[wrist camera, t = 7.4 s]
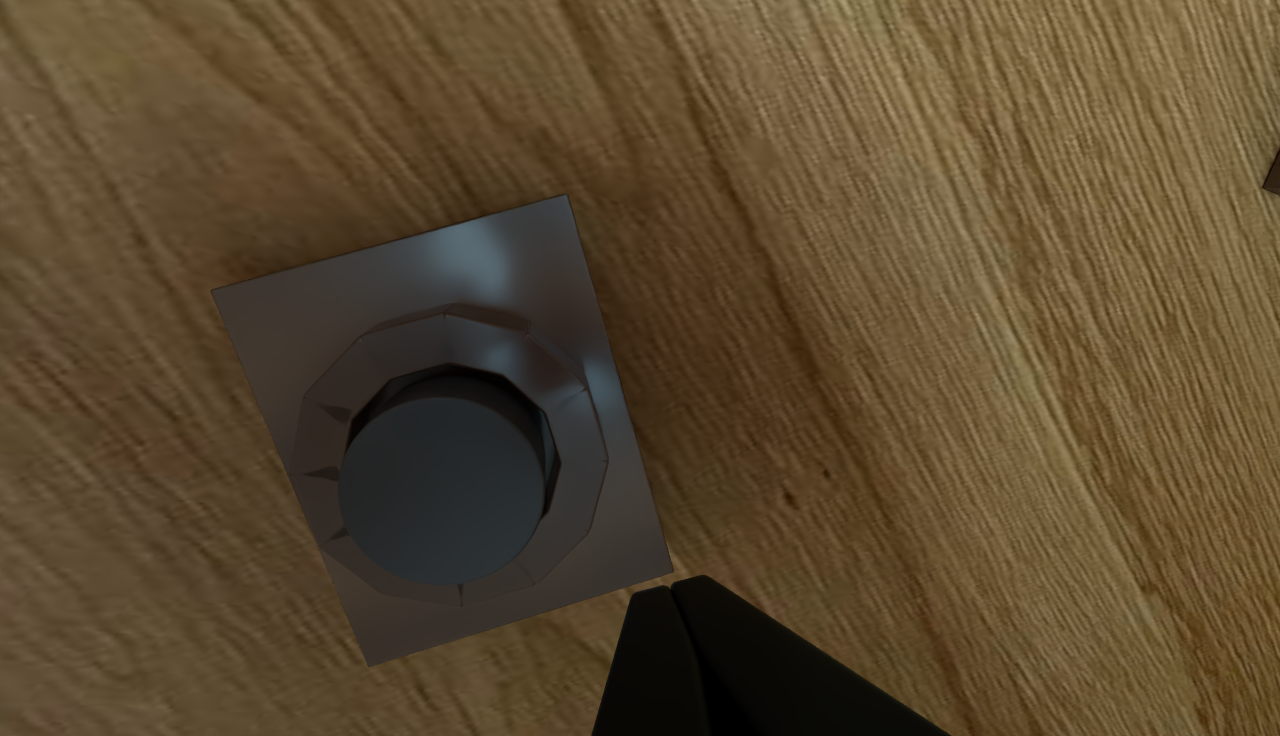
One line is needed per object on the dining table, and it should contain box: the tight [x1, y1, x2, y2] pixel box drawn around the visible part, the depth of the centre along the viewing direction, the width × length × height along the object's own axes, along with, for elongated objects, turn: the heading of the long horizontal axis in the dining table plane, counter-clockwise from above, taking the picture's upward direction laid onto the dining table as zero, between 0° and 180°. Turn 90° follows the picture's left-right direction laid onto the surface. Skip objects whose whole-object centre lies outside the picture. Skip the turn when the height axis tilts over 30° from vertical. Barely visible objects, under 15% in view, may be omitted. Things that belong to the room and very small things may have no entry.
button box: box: [211, 193, 674, 667], centre depth 19 cm, size 11×9×4 cm
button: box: [338, 376, 546, 586], centre depth 16 cm, size 4×4×2 cm
